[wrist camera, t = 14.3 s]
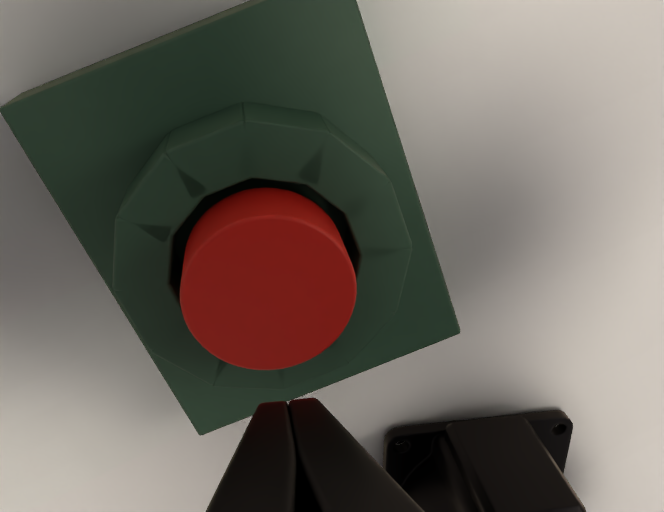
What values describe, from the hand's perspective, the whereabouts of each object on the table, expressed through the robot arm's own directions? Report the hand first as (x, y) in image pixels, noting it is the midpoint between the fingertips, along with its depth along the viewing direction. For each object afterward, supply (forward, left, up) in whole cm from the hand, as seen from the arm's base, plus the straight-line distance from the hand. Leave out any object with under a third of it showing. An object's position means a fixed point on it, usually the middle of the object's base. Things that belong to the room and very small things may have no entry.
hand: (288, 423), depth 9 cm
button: (0, 0, -6) cm, 6 cm away
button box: (0, 0, -9) cm, 9 cm away
